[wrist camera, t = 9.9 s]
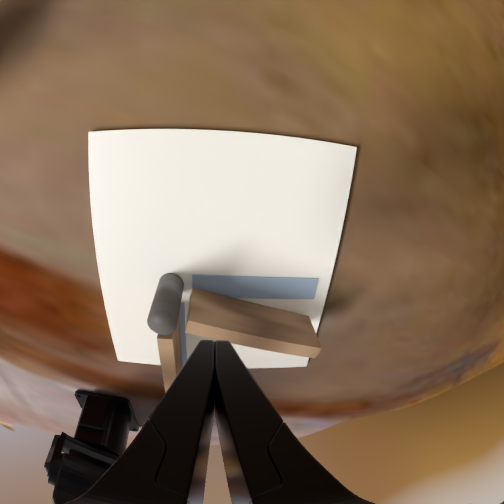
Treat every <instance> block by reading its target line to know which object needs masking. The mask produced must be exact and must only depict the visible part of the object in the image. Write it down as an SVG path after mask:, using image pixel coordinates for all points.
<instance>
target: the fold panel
mask: <svg viewBox="0 0 504 504" xmlns="http://www.w3.org/2000/svg"><path fill="white" fill-rule="evenodd" d="M185 333H189V334H193V335H197V336H201V337H206V338H210V339H214V340H228V341H229V342H230V343H232V344H237V345H242V346H247V347H252V348H257V349H262V350H267V351H273V352H278V353H284V354H290V355H296V356H302V357H309V358H316V356H317V355H318V353H319V352H320V350H321V349H322V348H321V345H320V343H319V340H318V338H317V335H316V333H315V330H314V328H313V325H312V323H311V320H310V318H309V316H307V315H303V314H299V313H294V312H290V311H286V310H281V309H277V308H273V307H269V306H265V305H260V304H256V303H252V302H248V301H244V300H240V299H236V298H233V297H229V296H225V295H221V294H217V293H213V292H210V291H206V290H202V289H199V288H195V287H193V289H192V292H191V295H190V299H189V306H188V313H187V321H186V329H185Z"/></svg>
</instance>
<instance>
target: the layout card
mask: <svg viewBox="0 0 504 504" xmlns="http://www.w3.org/2000/svg"><path fill="white" fill-rule="evenodd" d="M356 150H357V147H354V146H349V145H343V144H338V143H332V142H325V141H319V140H312V139H305V138H298V137H290V136H281V135H272V134H262V133H251V132H239V131H224V130H203V129H125V130H105V131H91V132H89V183H90V200H91V213H92V224H93V233H94V241H95V249H96V257H97V264H98V270H99V276H100V282H101V288H102V293H103V298H104V303H105V308H106V313H107V318H108V322H109V327H110V331H111V335H112V339H113V343H114V347H115V351H116V355H117V358H118V361H125V362H134V363H144V364H155V365H161V364H160V357H159V350H158V343H157V335H158V333H155V332H154V331H152V330H151V329H150V328H149V326H148V324H147V318H148V315H149V312H150V308H151V305H152V302H153V299H154V295H155V292H156V289H157V286H158V283H159V280H160V278H161V276H163V275H164V274H166V273H174V274H177V275H179V276H180V277H181V278H182V280H183V282H184V288H183V294H182V299H181V305H180V311H179V324H180V340H181V353H182V365H184V364H185V362H186V361H187V359H188V358H189V356H190V355H191V353H192V352H193V350H194V349H195V347H196V345H197V344H198V342H199V341H200V340H213V341H214V342H215V341H216V340H214V339H210V338H206V337H201V336H197V335H193V334H189V333H185V329H186V321H187V313H188V306H189V299H190V295H191V292H192V289H193V287H195V288H199V289H202V290H206V291H210V292H213V293H217V294H221V295H225V296H229V297H233V298H236V299H240V300H244V301H248V302H252V303H256V304H260V305H265V306H269V307H273V308H277V309H281V310H286V311H290V312H294V313H299V314H303V315H307V316H309V318H310V320H311V323H312V325H313V328H314V330H315V333H317V329H318V326H319V322H320V318H321V315H322V311H323V307H324V304H325V300H326V296H327V292H328V288H329V284H330V280H331V276H332V272H333V268H334V264H335V259H336V255H337V251H338V246H339V241H340V237H341V232H342V227H343V223H344V218H345V213H346V208H347V202H348V197H349V192H350V186H351V180H352V175H353V169H354V162H355V156H356ZM231 344H232V343H231ZM232 346H233V347H234V349H235V351H236V352H237V354H238V355H239V357H240V358H241V360H242V361H243V363H244V364H245V366H246V367H247V368H285V367H306V366H307V363H308V360H309V357H302V356H296V355H290V354H284V353H278V352H273V351H267V350H262V349H257V348H252V347H247V346H242V345H237V344H232Z"/></svg>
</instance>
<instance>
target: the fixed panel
mask: <svg viewBox="0 0 504 504" xmlns="http://www.w3.org/2000/svg"><path fill="white" fill-rule="evenodd" d="M183 288H184V282H183V280H182V278H181V277H180V276H179V275H177V274H174V273H166V274H164V275H163V276H161V278H160V280H159V283H158V286H157V289H156V292H155V295H154V299H153V302H152V305H151V308H150V312H149V315H148V318H147V324H148V326H149V328H150V329H151V330H152V331H154V332H155V333H158V335H157V343H158V350H159V357H160V364H161V370H162V376H163V382H164V387H165V393H166V391H167V390H168V388H169V387H170V385H171V384H172V382H173V381H174V379H175V378H176V376H177V374H178V373H179V371H180V370H181V368H182V367H183V365H182V353H181V340H180V324H179V311H180V305H181V299H182V294H183Z"/></svg>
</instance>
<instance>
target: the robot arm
mask: <svg viewBox="0 0 504 504" xmlns="http://www.w3.org/2000/svg"><path fill="white" fill-rule="evenodd" d="M75 397H76V399H77V400H78V402H79V404H80V406H81V408H82V412H81V415H80V418H79V422H78V425H77V429H76V432H75V436H74V438H73V437H71V436H68V435H67V434H66V433H64V432H62V434H61V435H55V436H54V439H53V442H52V446H51V448H50V451H49V454H48V456H47V459H46V462H45V465H44V467H45V469H46V471H47V472H48V475H47V476H48V477H49V479H48V483H49V484H52V485H54V486H55V487H54V492H53V500H52V501H53V504H203V499H204V491H205V482H206V473H207V465H208V456H209V448H210V440H211V432H212V424H213V417H214V403H215V415H216V422H217V428H218V434H219V440H220V445H221V451H222V456H223V462H224V467H225V472H226V478H227V482H228V487H229V492H230V497H231V502H232V504H375V503H372V502H369V501H366V500H364V499H362V498H360V497H358V496H357V495H355V494H353V493H352V492H351V491H349V490H348V489H347V488H346V487H344V486H343V485H342V484H341V483H340V482H339V481H338V480H337V479H336V478H335V477H333V475H331V474H330V473H329V472H328V471H327V470H326V469H325V468H324V467H323V466H322V465H321V464H320V463H319V462H318V461H317V460H316V459H315V458H314V457H313V456H312V455H311V454H310V453H309V452H308V451H307V450H306V449H305V448H304V447H303V445H302V444H301V443H300V442H299V441H298V439H297V438H296V437H295V436H294V434H293V433H292V432H291V430H290V429H289V428H288V426H287V425H286V423H284V422H283V420H282V418H281V417H280V415H279V414H278V413H277V411H276V410H275V408H274V407H273V405H272V404H271V403H270V401H269V400H268V398H267V397H266V395H265V394H264V392H263V391H262V390H261V388H260V387H259V385H258V384H257V382H256V381H255V379H254V378H253V376H252V375H251V373H250V372H249V370H248V369H247V367H246V366H245V364H244V363H243V361H242V360H241V358H240V357H239V355H238V354H237V352H236V351H235V349H234V347H233V346H232V344H231V343H230V342H229V341H228V340H216V341H215V342H214V341H213V340H200V341H199V342H198V344H197V345H196V347H195V349H194V350H193V352H192V353H191V355H190V356H189V358H188V359H187V361H186V362H185V364H184V365H183V367H182V368H181V370H180V371H179V373H178V374H177V376H176V378H175V379H174V381H173V382H172V384H171V385H170V387H169V388H168V390H167V391H166V393H165V394H164V396H163V397H162V399H161V400H160V402H159V403H158V405H157V406H156V408H155V409H154V411H153V412H152V414H151V416H150V417H149V420H147V421H146V423H145V424H144V426H143V427H142V429H141V430H140V432H139V433H138V435H137V436H136V437H135V439H134V440H133V442H132V443H131V444H130V445H129V446H128V448H127V449H126V445H127V439H128V434H129V431H138V429H139V427H138V424H137V421H136V419H135V416H134V413H133V410H132V408H131V405H130V402H129V400H127V399H124V398H117V397H111V396H104V395H98V394H93V393H87V392H82V391H76V392H75ZM62 452H64V453H62ZM500 504H504V501H503V502H502V503H500Z"/></svg>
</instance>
